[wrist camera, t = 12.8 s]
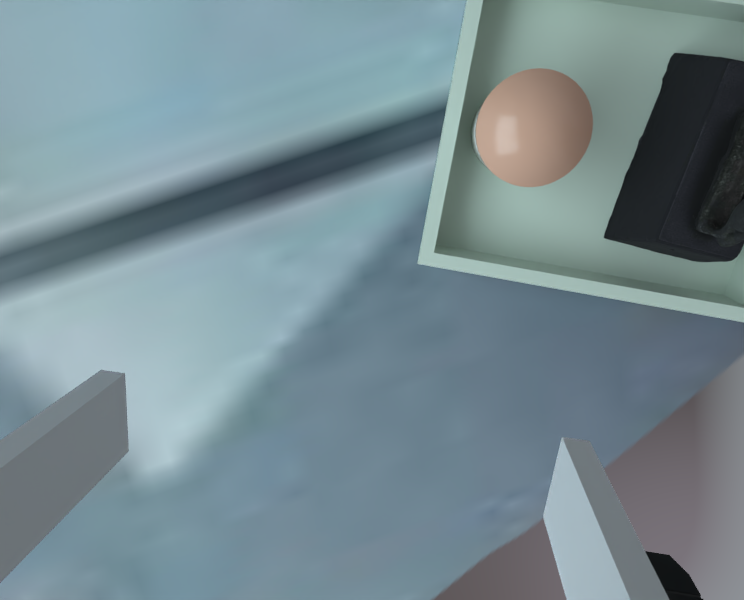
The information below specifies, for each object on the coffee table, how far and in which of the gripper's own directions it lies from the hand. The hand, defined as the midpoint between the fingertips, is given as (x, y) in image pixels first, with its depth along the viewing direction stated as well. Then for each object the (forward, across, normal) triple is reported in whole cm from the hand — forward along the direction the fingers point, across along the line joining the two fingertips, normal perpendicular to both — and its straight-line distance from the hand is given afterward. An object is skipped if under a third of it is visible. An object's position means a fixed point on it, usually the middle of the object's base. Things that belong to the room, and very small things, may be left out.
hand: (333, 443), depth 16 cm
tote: (+28, +14, +9) cm, 33 cm away
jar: (+28, +7, +10) cm, 30 cm away
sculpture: (+28, +20, +9) cm, 35 cm away
